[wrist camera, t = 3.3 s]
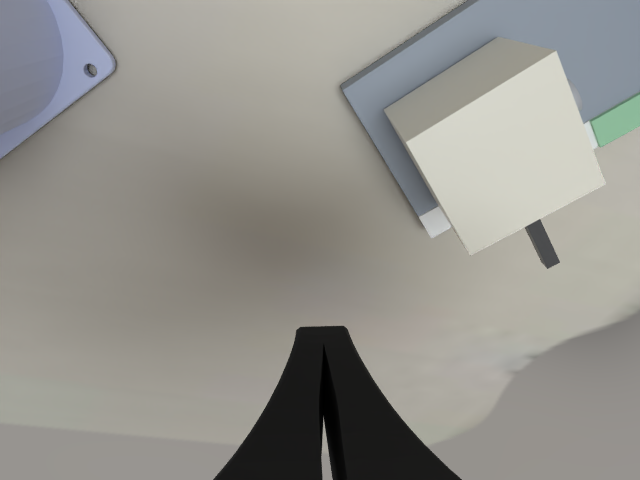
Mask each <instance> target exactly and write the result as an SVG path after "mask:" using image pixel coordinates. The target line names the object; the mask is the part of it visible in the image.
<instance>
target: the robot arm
mask: <svg viewBox="0 0 640 480" xmlns="http://www.w3.org/2000/svg"><path fill="white" fill-rule="evenodd" d="M88 64H93V65H94V66H95V67H96V69H97V75H96V76H93V75H91V74H90V73H89V71H88V70H87V66H88ZM115 66H116V63H115V59H114V57H113V56H112V54H111V53H110V52H109V50H108V49H107V48H106V47H105V45H104V44H103V43H102V42H101V40H100V39H99V38H98V37H97V35H96V34H95V33H94V32H93V30H92V29H91V28H90V27H89V26H88V24H87V23H86V22H85V21H84V19H83V18H82V17H81V16H80V14H79V13H78V12H77V11H76V9H75V8H74V7H73V6H72V4H71V3H70V2H69V1H68V0H0V159H1V158H3V157H4V156H5V155H6V154H8V153H9V152H10V151H12V150H13V149H14V148H16V147H17V146H18V145H19V144H21V143H22V142H23V141H25V140H26V139H27V138H28V137H30V136H31V135H32V134H34V133H35V132H36V131H38V130H39V129H40V128H41V127H43V126H44V125H45V124H47V123H48V122H49V121H50V120H52V119H53V118H54V117H56V116H57V115H58V114H60V113H61V112H62V111H63V110H65V109H66V108H67V107H69V106H70V105H71V104H73V103H74V102H75V101H76V100H78V99H79V98H80V97H82V96H83V95H84V94H85V93H87V92H88V91H89V90H91V89H92V88H93V87H95V86H96V85H97V84H98V83H100V82H101V81H102V80H104V79H105V78H106V77H107V76H109V75H110V74H111V73H112V72H113V71H114V70H115ZM323 415H324V422H325V429H326V436H327V443H328V450H329V457H330V464H331V471H332V478H333V480H462V479H460V478H459V477H458V476H457V475H456V474H455V473H454V472H452V471H451V470H450V469H449V468H448V467H447V466H446V465H445V464H444V463H443V462H442V461H441V460H440V459H439V458H438V457H437V456H436V455H435V454H434V453H432V451H430V449H429V448H428V447H426V446H425V445H424V443H423V442H422V441H421V440H420V439H419V438H418V437H417V436H416V435H415V434H414V433H413V431H412V430H411V429H410V428H409V427H408V426H407V424H406V423H405V422H404V421H403V420H402V419H401V417H400V416H399V415H398V414H397V412H396V411H395V410H394V408H393V407H392V406H391V404H390V403H389V402H388V400H387V399H386V398H385V396H384V395H383V393H382V392H381V390H380V389H379V387H378V386H377V384H376V383H375V381H374V380H373V378H372V377H371V375H370V373H369V372H368V370H367V368H366V367H365V365H364V363H363V362H362V360H361V358H360V356H359V354H358V352H357V350H356V348H355V346H354V344H353V342H352V340H351V337H350V335H349V332H348V329H347V328H346V327H344V326H321V327H300V328H299V329H297V330H296V337H295V341H294V345H293V348H292V351H291V354H290V357H289V359H288V362H287V364H286V367H285V369H284V371H283V374H282V376H281V378H280V380H279V383H278V385H277V387H276V388H275V390H274V392H273V394H272V396H271V398H270V400H269V402H268V404H267V406H266V407H265V409H264V411H263V413H262V414H261V416H260V417H259V419H258V421H257V422H256V424H255V425H254V427H253V429H252V430H251V432H250V433H249V434H248V436H247V437H246V439H245V440H244V441H243V443H242V444H241V446H240V447H239V449H238V450H237V451H236V453H235V454H234V455H233V457H232V458H231V459H230V460H229V462H228V463H227V464H226V465H225V466H224V468H223V469H222V470H221V471H220V472H219V473H218V475H217V476H216V477H215V478H214V479H213V480H322V464H321V453H322V434H323Z"/></svg>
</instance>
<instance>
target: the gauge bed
mask: <svg viewBox="0 0 640 480" xmlns="http://www.w3.org/2000/svg"><path fill="white" fill-rule="evenodd" d="M497 37H502V38H506V39H510V40H514V41H518V42H523V43H527V44H531V45H535V46H539V47H543V48H548V49H552V50H556V51H557V54H558V56H559V59H560V62H561V65H562V67H563V70H564V73H565V75H566V77H567V78H568V79H569V80H570V81H571V82H572V83H573V84H574V86H575V87H576V89H577V90H578V92H579V94H580V97H581V100H582V110H580V111H579V113H580V116H581V118H582V121H583V124H584V127H585V129H586V132H587V135H588V137H589V140H590V143H591V145H592V148H593V149H595V148H597V147H598V146H599V147H602V146H604V145H606V144H608V143H610V142H611V141H613V140H615V139H617V138H619V137H620V136H622V135H624V134H626V133H628V132H630V131H631V130H633V129H635V128H637V127H639V126H640V0H468V1H466V2H465V3H463V4H462V5H460V6H459V7H457V8H456V9H454V10H453V11H451V12H450V13H448V14H447V15H445V16H444V17H442V18H441V19H439V20H438V21H436V22H435V23H433V24H432V25H430V26H429V27H427V28H426V29H424V30H423V31H421V32H420V33H418V34H417V35H415V36H413V37H412V38H410V39H409V40H407V41H406V42H404V43H403V44H401V45H400V46H398V47H397V48H395V49H394V50H392V51H391V52H389V53H388V54H386V55H385V56H383V57H382V58H380V59H379V60H377V61H376V62H374V63H373V64H371V65H370V66H368V67H367V68H365V69H364V70H362V71H361V72H359V73H358V74H356V75H355V76H353V77H352V78H350V79H349V80H347V81H346V82H344V83H343V84H341V85H340V86H341V88H342V91H343V92H344V94H345V96H346V97H347V99H348V101H349V102H350V104H351V106H352V107H353V109H354V111H355V112H356V114H357V116H358V117H359V119H360V121H361V122H362V124H363V126H364V127H365V129H366V131H367V132H368V134H369V135H370V137H371V139H372V140H373V142H374V144H375V145H376V147H377V149H378V150H379V152H380V154H381V155H382V157H383V159H384V160H385V162H386V164H387V165H388V167H389V169H390V170H391V172H392V174H393V175H394V177H395V179H396V180H397V182H398V184H399V185H400V187H401V189H402V190H403V192H404V194H405V195H406V197H407V199H408V200H409V202H410V204H411V205H412V207H413V209H414V210H415V212H416V214H417V215H418V217H419V219H420V220H421V222H422V224H423V225H424V227H425V229H426V230H427V232H428V234H429V235H430V237H431V238H433V237H435V236H437V235H439V234H440V233H442V232H444V231H446V230H448V229H449V228H451V227H452V226H451V225H450V223H449V222H448V220H447V219H446V217H445V215H444V214H443V212H442V211H441V209H440V208H439V206H438V204H437V203H436V201H435V199H434V197H433V196H432V194H431V192H430V190H429V189H428V187H427V185H426V183H425V182H424V180H423V178H422V176H421V175H420V173H419V171H418V169H417V168H416V166H415V164H414V162H413V161H412V159H411V157H410V155H409V154H408V152H407V150H406V148H405V147H404V145H403V143H402V141H401V140H400V138H399V136H398V134H397V133H396V131H395V129H394V127H393V126H392V124H391V122H390V120H389V119H388V117H387V115H386V113H385V112H384V109H385V108H387V107H388V106H390V105H392V104H393V103H395V102H396V101H398V100H399V99H401V98H403V97H404V96H406V95H407V94H409V93H411V92H412V91H414V90H415V89H417V88H418V87H420V86H422V85H423V84H425V83H426V82H428V81H429V80H431V79H433V78H434V77H436V76H437V75H439V74H440V73H442V72H444V71H445V70H447V69H448V68H450V67H451V66H453V65H455V64H456V63H458V62H459V61H461V60H462V59H464V58H466V57H467V56H469V55H470V54H472V53H473V52H475V51H477V50H478V49H480V48H481V47H483V46H484V45H486V44H488V43H489V42H491V41H492V40H494V39H495V38H497Z"/></svg>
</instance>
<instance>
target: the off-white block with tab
mask: <svg viewBox="0 0 640 480" xmlns="http://www.w3.org/2000/svg"><path fill="white" fill-rule="evenodd" d="M580 110H582V100H581V97H580V94H579V92H578V90H577V89H576V87H575V86H574V84H573V83H572V82H571V81H570V80H569V79H568V78H567V77H566V75H565V73H564V70H563V67H562V65H561V62H560V59H559V56H558V54H557V51H556V50H552V49H548V48H543V47H539V46H535V45H531V44H527V43H523V42H518V41H514V40H510V39H506V38H502V37H497V38H495V39H494V40H492V41H491V42H489V43H488V44H486V45H484V46H483V47H481V48H480V49H478V50H477V51H475V52H473V53H472V54H470V55H469V56H467V57H466V58H464V59H462V60H461V61H459V62H458V63H456V64H455V65H453V66H451V67H450V68H448V69H447V70H445V71H444V72H442V73H440V74H439V75H437V76H436V77H434V78H433V79H431V80H429V81H428V82H426V83H425V84H423V85H422V86H420V87H418V88H417V89H415V90H414V91H412V92H411V93H409V94H407V95H406V96H404V97H403V98H401V99H399V100H398V101H396V102H395V103H393V104H392V105H390V106H388V107H387V108H385V109H384V112H385V113H386V115H387V117H388V119H389V120H390V122H391V124H392V126H393V127H394V129H395V131H396V133H397V134H398V136H399V138H400V140H401V141H402V143H403V145H404V147H405V148H406V150H407V152H408V154H409V155H410V157H411V159H412V161H413V162H414V164H415V166H416V168H417V169H418V171H419V173H420V175H421V176H422V178H423V180H424V182H425V183H426V185H427V187H428V189H429V190H430V192H431V194H432V196H433V197H434V199H435V201H436V203H437V204H438V206H439V208H440V209H441V211H442V212H443V214H444V215H445V217H446V219H447V220H448V222H449V223H450V225H451V226H452V228H453V230H454V231H455V233H456V234H457V236H458V237H459V239H460V241H461V242H462V244H463V245H464V247H465V248H466V250H467V252H468V253H469V255H470V256H471V255H473V254H475V253H477V252H479V251H481V250H482V249H484V248H486V247H488V246H490V245H492V244H494V243H496V242H498V241H499V240H501V239H503V238H505V237H507V236H509V235H511V234H513V233H515V232H516V231H518V230H520V229H522V228H524V227H525V229H526V231H527V233H528V235H529V237H530V239H531V241H532V243H533V246H534V248H535V250H536V252H537V254H538V256H539V258H540V260H541V262H542V263H543V264H544V265H545V267H546V268H547V269H548V268H550V267H552V266H554V265H556V264H558V263H560V261H559V259H558V257H557V255H556V253H555V251H554V248H553V246H552V244H551V242H550V240H549V238H548V235H547V233H546V231H545V229H544V227H543V225H542V222H541V220H540V219H541V218H543V217H545V216H547V215H549V214H550V213H552V212H554V211H556V210H558V209H560V208H562V207H564V206H565V205H567V204H569V203H571V202H573V201H575V200H577V199H579V198H581V197H582V196H584V195H586V194H588V193H590V192H592V191H594V190H596V189H598V188H599V187H601V186H603V185H605V184H606V183H605V180H604V178H603V175H602V172H601V170H600V167H599V164H598V162H597V159H596V156H595V154H594V151H593V148H592V145H591V143H590V140H589V137H588V135H587V132H586V129H585V127H584V124H583V121H582V118H581V116H580V113H579V111H580Z"/></svg>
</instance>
